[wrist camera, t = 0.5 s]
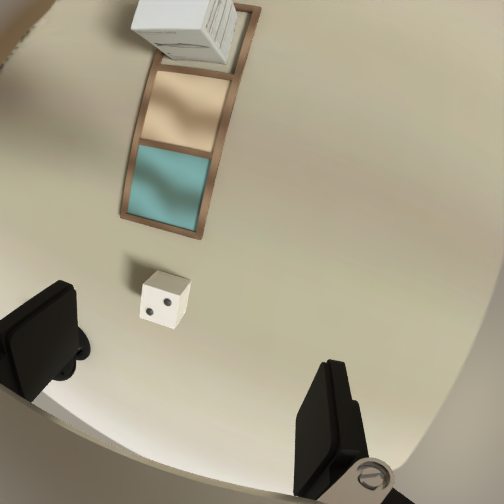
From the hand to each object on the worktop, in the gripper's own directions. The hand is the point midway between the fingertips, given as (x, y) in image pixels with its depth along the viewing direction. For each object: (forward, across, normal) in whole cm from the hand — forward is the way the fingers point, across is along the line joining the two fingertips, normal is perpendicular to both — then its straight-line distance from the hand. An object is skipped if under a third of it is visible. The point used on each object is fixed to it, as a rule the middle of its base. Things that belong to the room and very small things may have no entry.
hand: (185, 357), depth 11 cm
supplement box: (+30, +12, -20) cm, 38 cm away
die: (+30, +9, +14) cm, 34 cm away
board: (+30, +12, -10) cm, 34 cm away
